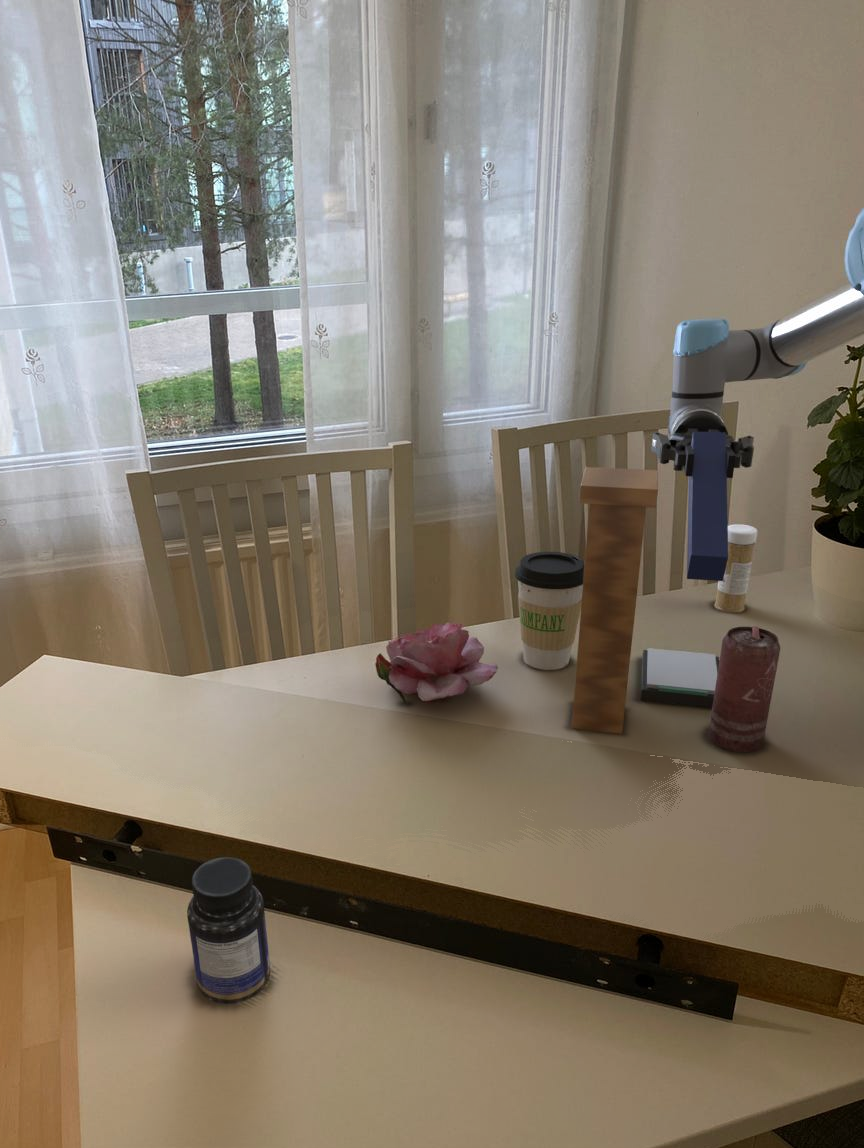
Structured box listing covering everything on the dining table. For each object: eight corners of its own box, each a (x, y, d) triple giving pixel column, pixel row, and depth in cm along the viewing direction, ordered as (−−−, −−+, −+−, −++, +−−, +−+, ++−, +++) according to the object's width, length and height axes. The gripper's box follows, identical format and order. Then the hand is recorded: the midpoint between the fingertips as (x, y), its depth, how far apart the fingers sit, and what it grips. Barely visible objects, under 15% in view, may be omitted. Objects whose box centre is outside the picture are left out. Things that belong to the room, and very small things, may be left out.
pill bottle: (215, 947, 80) (202, 845, 75) (281, 958, 78) (271, 855, 74) (185, 1001, 74) (168, 895, 70) (255, 1014, 73) (243, 907, 68)
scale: (716, 669, 125) (719, 652, 124) (722, 712, 115) (725, 693, 114) (641, 662, 128) (643, 645, 127) (640, 703, 117) (642, 685, 116)
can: (759, 731, 110) (778, 626, 104) (764, 758, 105) (784, 649, 99) (706, 725, 112) (722, 621, 106) (708, 752, 106) (725, 644, 100)
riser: (631, 709, 116) (658, 470, 102) (630, 742, 109) (658, 489, 96) (568, 702, 118) (585, 466, 104) (562, 734, 111) (580, 485, 98)
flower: (522, 675, 119) (501, 605, 116) (446, 730, 110) (422, 656, 107) (443, 668, 130) (422, 605, 127) (370, 717, 122) (346, 651, 119)
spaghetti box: (721, 456, 118) (726, 432, 115) (722, 581, 105) (728, 557, 102) (689, 455, 119) (692, 431, 116) (686, 579, 106) (691, 555, 103)
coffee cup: (498, 654, 131) (502, 555, 125) (558, 642, 134) (565, 546, 128) (532, 683, 123) (538, 580, 116) (595, 670, 126) (604, 569, 119)
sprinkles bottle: (711, 603, 146) (722, 523, 140) (740, 604, 145) (753, 523, 140) (717, 615, 142) (730, 532, 136) (748, 615, 141) (761, 532, 136)
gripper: (757, 464, 131) (780, 500, 110) (635, 460, 135) (634, 493, 114) (765, 411, 128) (790, 437, 107) (640, 408, 132) (640, 432, 111)
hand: (710, 466), depth 111 cm, fingers closed on spaghetti box, 4 cm apart
